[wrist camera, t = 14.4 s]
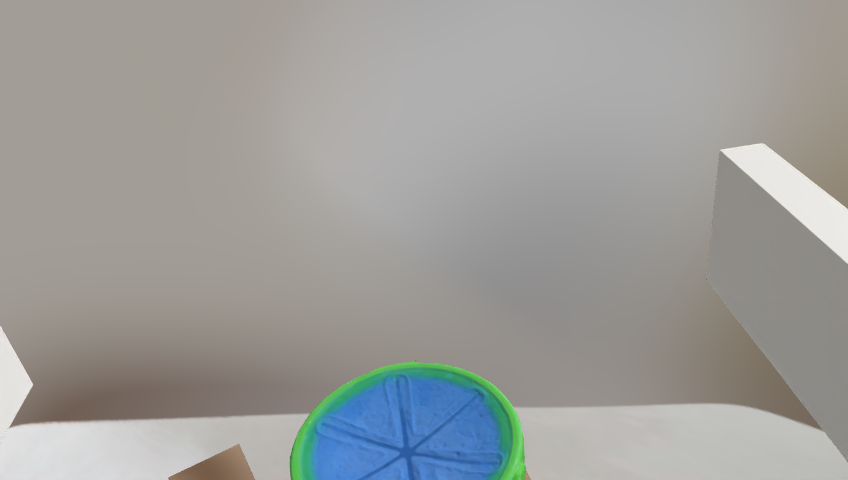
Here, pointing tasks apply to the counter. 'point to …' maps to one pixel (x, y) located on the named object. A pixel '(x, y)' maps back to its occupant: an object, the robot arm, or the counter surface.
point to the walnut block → (219, 467)
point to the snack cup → (411, 429)
